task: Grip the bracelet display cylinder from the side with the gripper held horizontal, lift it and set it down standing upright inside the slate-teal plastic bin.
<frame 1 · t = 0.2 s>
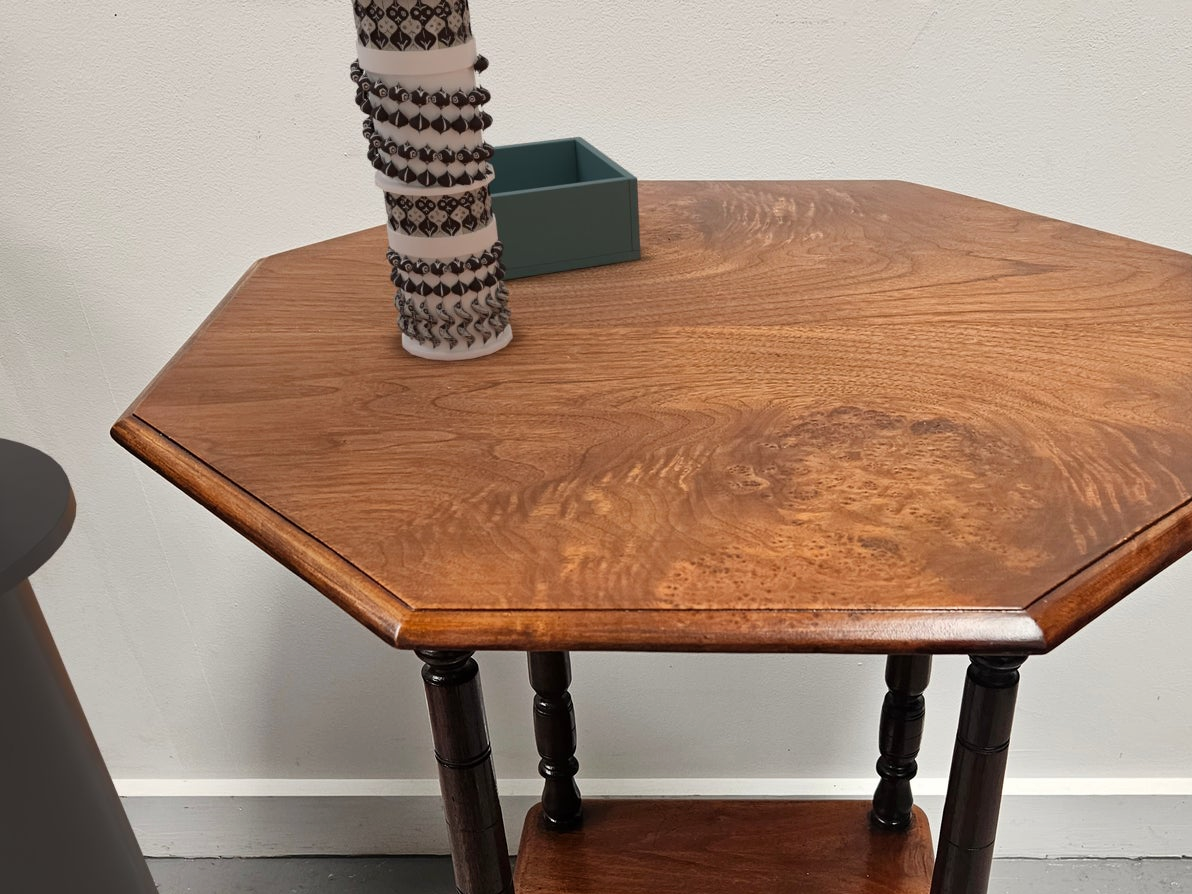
bracelet display cylinder: (457, 340, 96), on the table
bin: (536, 245, 112), on the table
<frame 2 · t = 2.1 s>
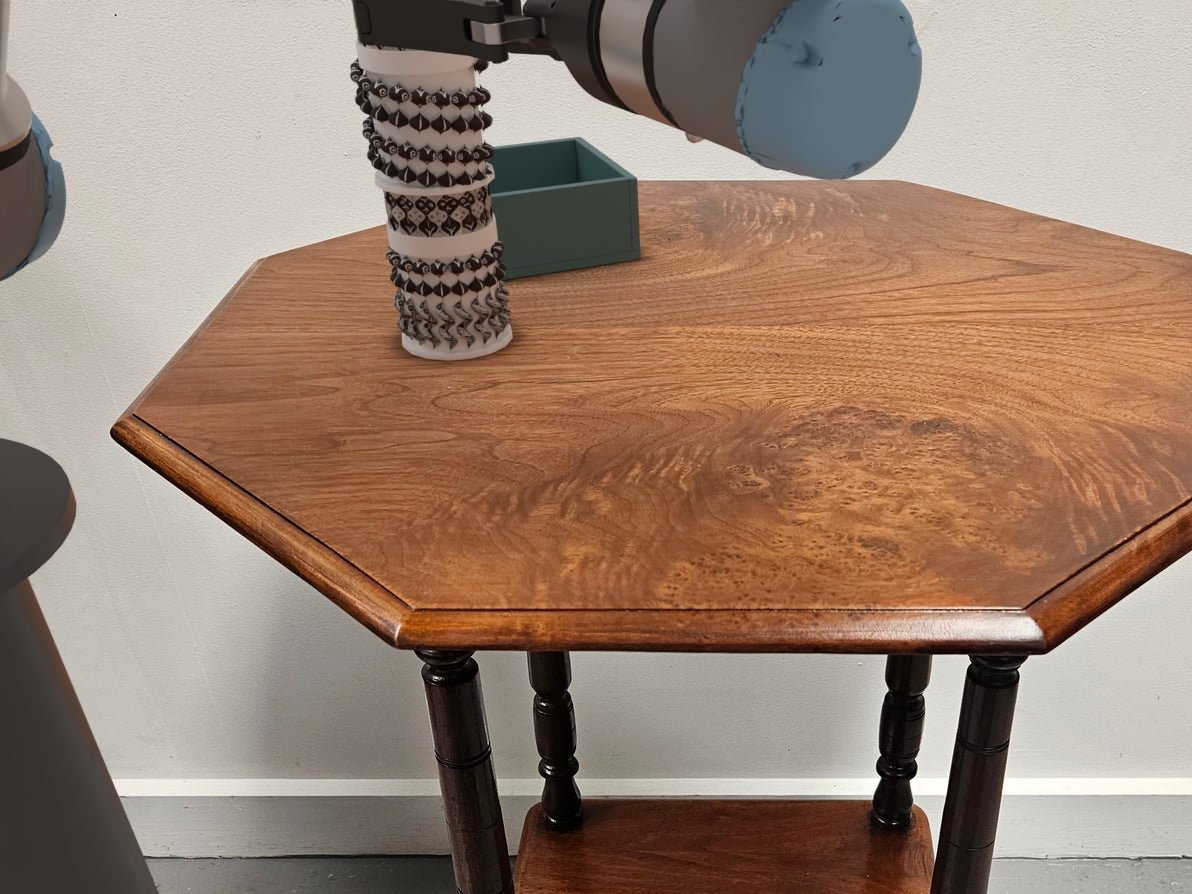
nothing on the table moved.
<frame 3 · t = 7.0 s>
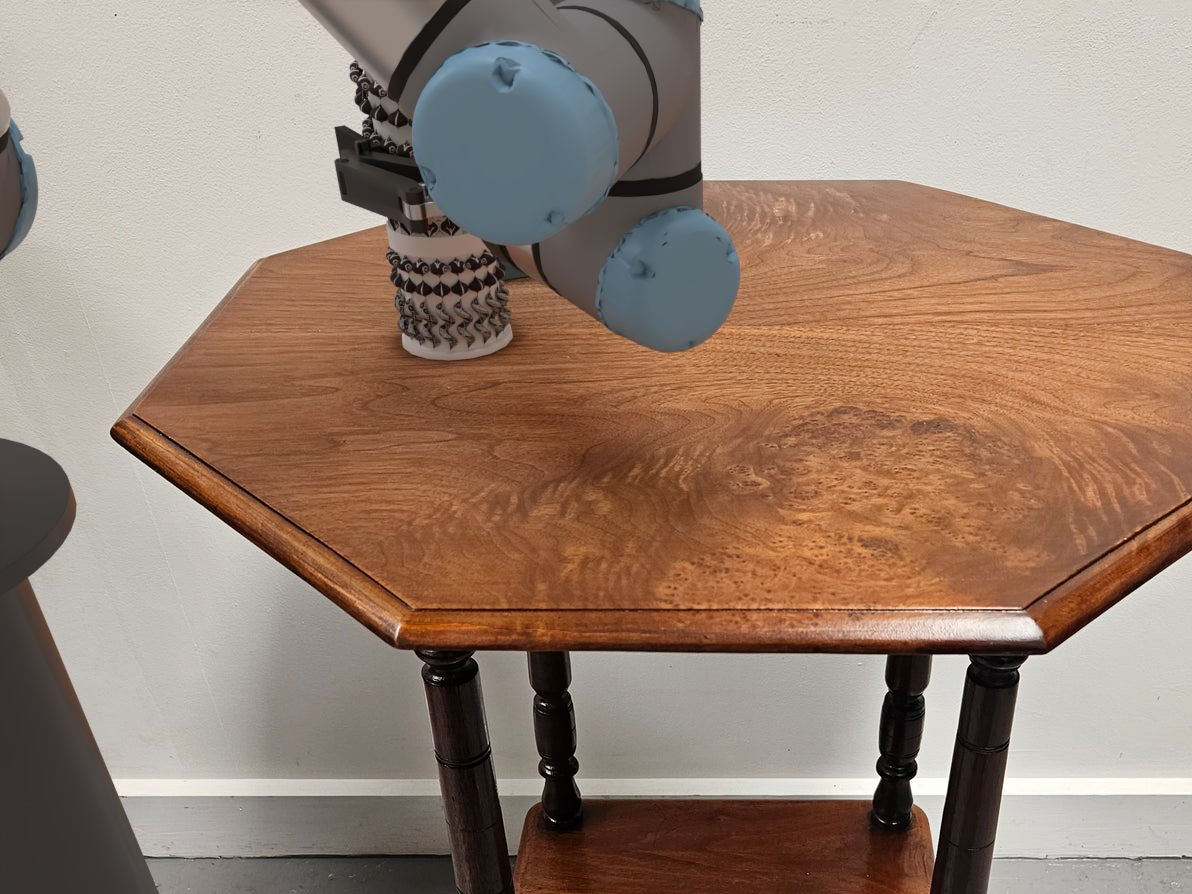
hand: (404, 136, 90), 13 cm above the table, tool horizontal, fingers closed on bracelet display cylinder, 9 cm apart
bracelet display cylinder: (457, 340, 96), on the table, touching gripper
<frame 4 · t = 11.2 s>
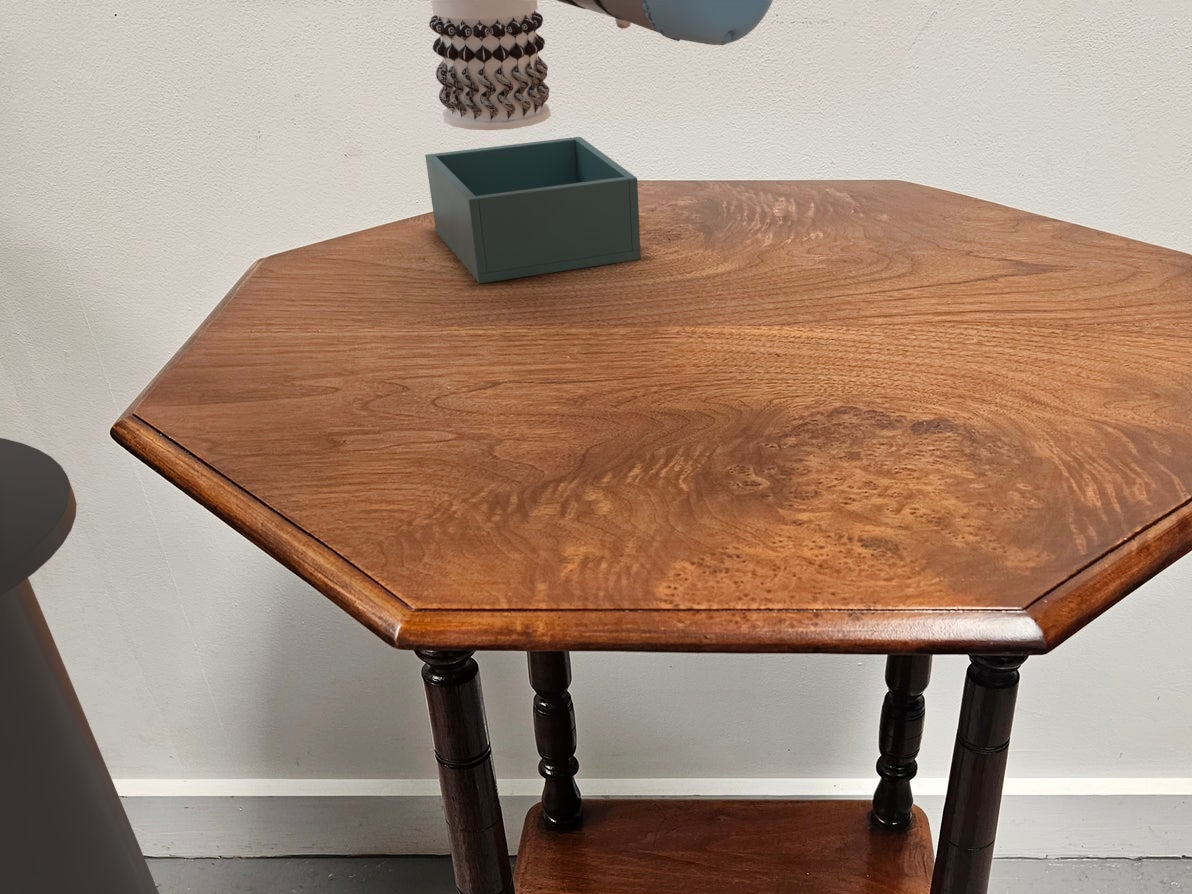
bracelet display cylinder: (497, 118, 99), point 12 cm above the table, touching gripper
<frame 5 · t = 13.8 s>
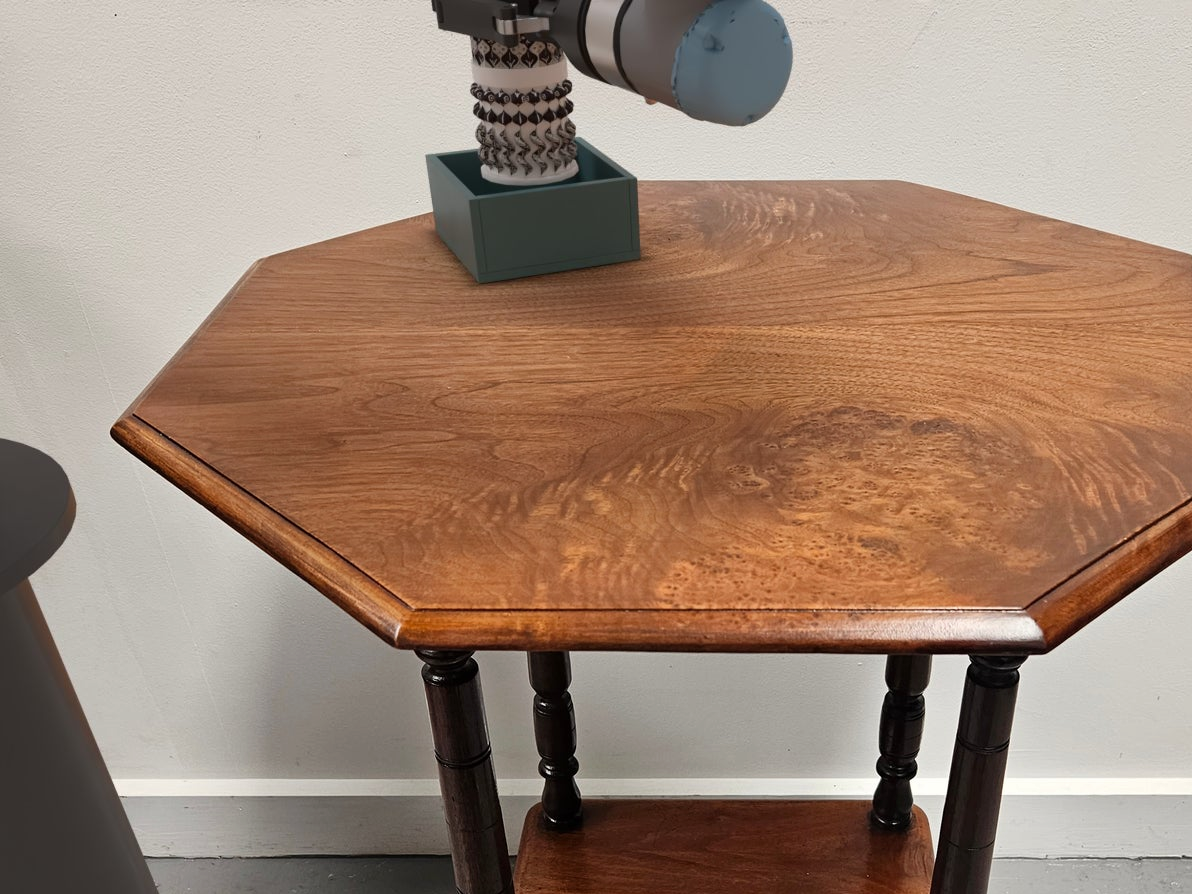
bracelet display cylinder: (529, 173, 109), point 6 cm above the table, touching gripper
when the fingers open (14 cm above the table, at t = 15.8 s): bracelet display cylinder stays where it is, resting on bin.
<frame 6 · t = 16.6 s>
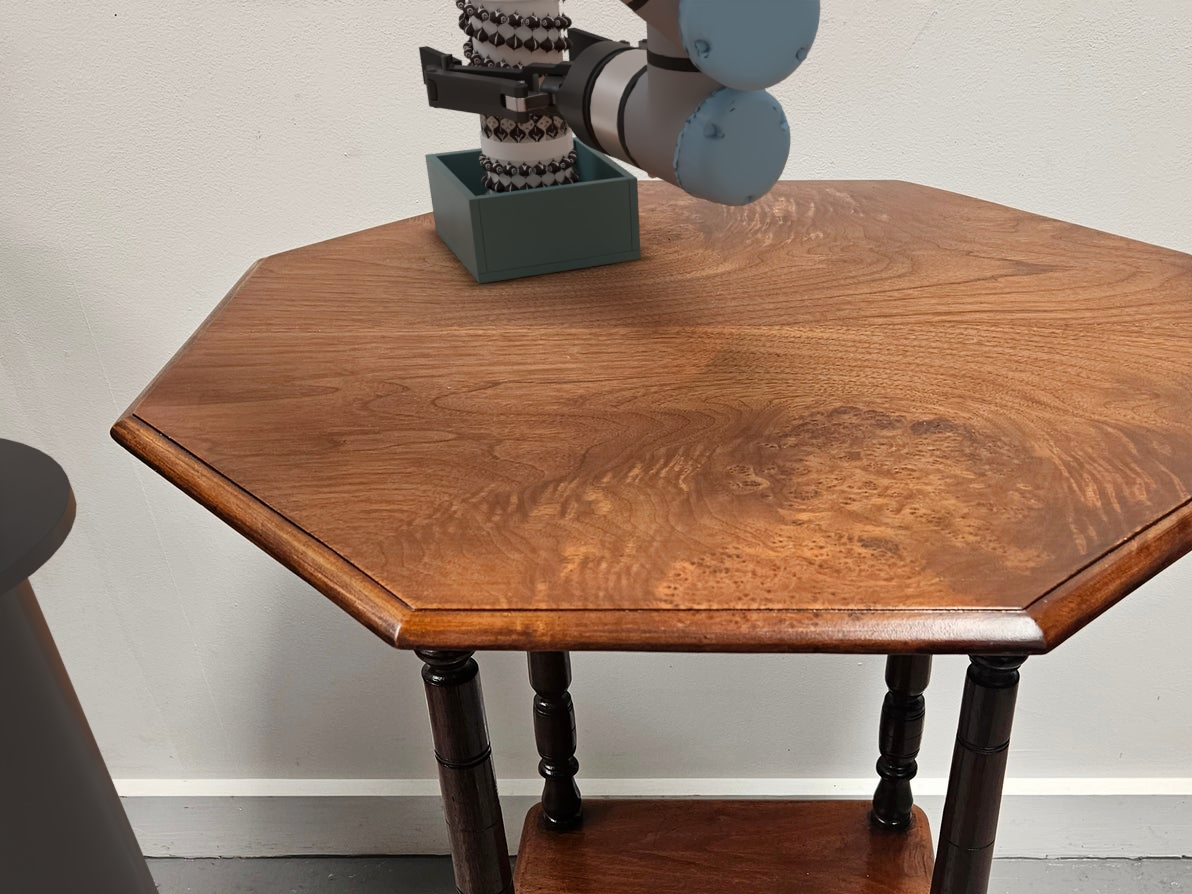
hand: (500, 54, 105), 15 cm above the table, tool horizontal, fingers open, 13 cm apart
bracelet display cylinder: (536, 238, 112), point 1 cm above the table, touching bin
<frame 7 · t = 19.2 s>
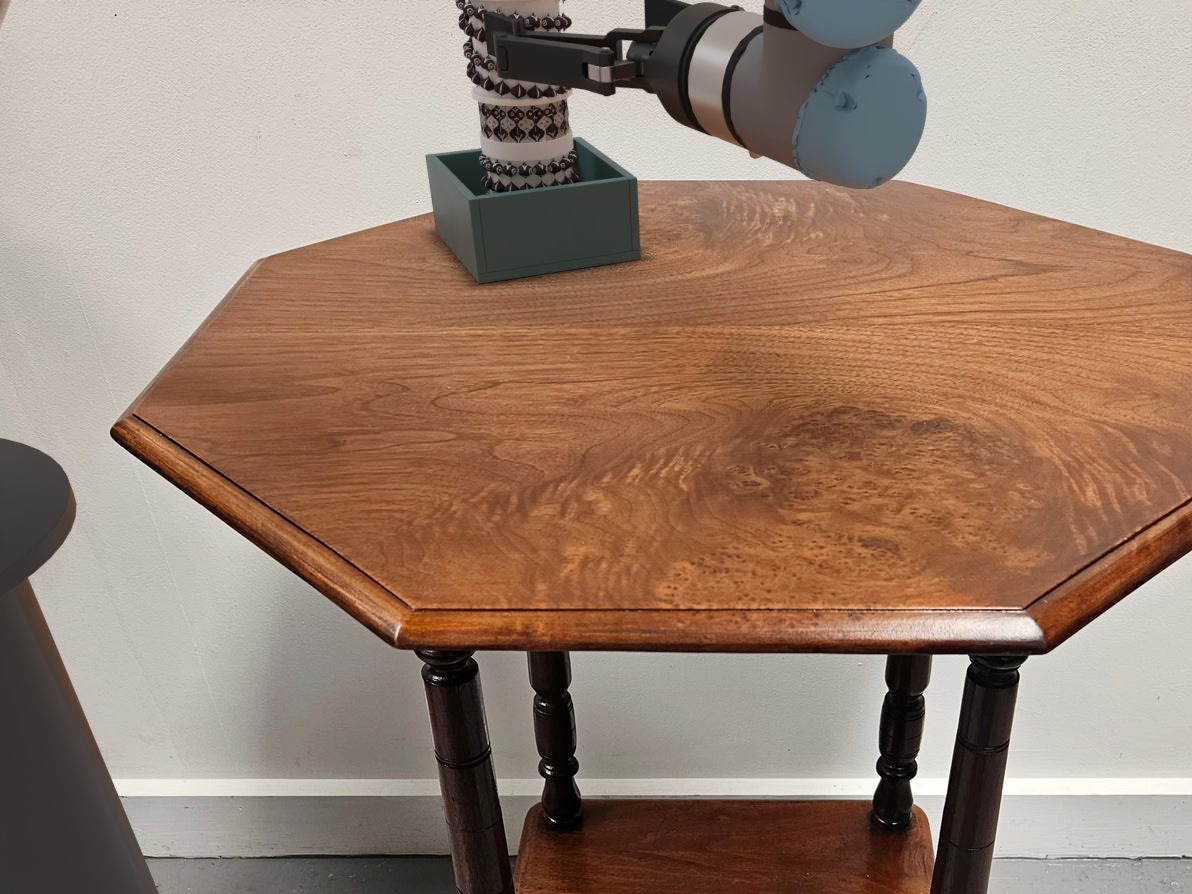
hand: (571, 22, 94), 19 cm above the table, tool horizontal, fingers open, 13 cm apart
nothing on the table moved.
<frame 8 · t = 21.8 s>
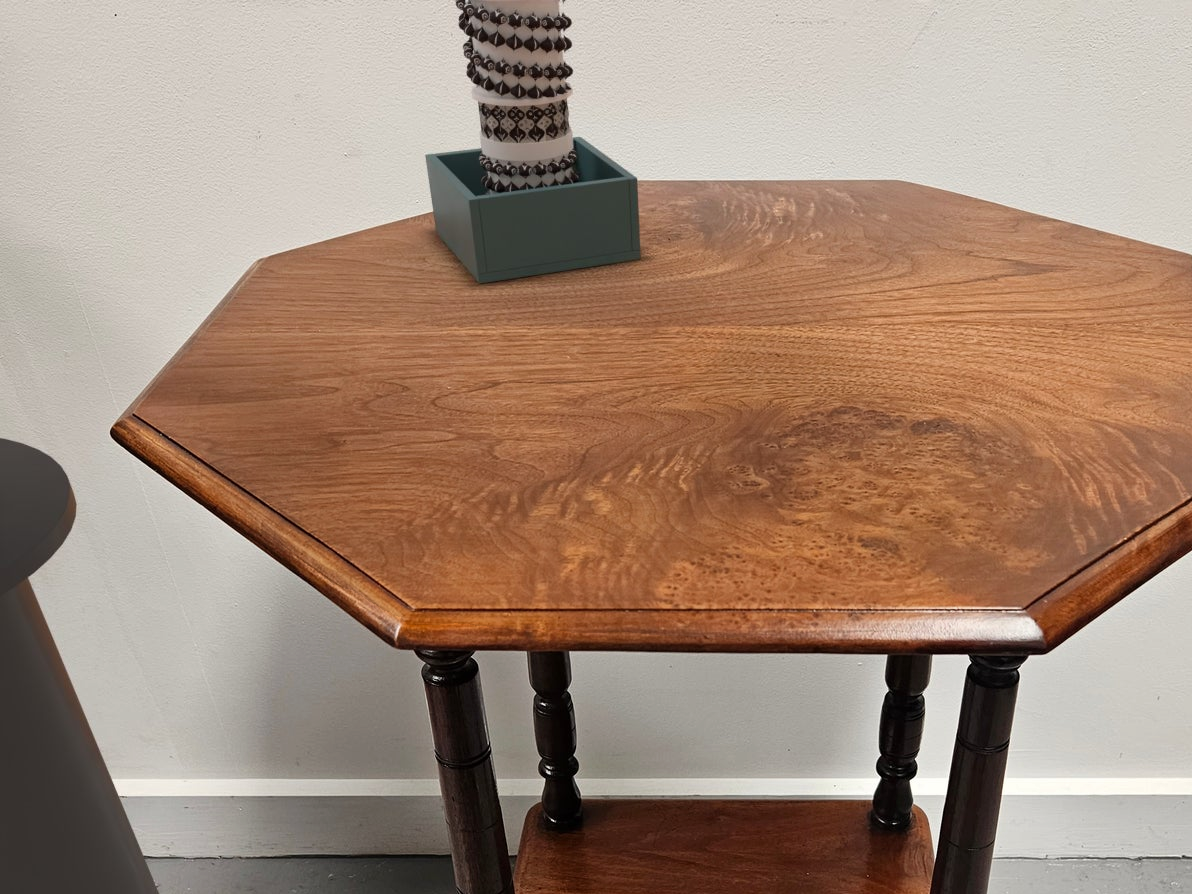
nothing on the table moved.
at the end: bracelet display cylinder inside the target area in the bin (0.1 cm from its centre), point 0.6 cm above the bin's base; bracelet display cylinder tilted 0°; the gripper is holding nothing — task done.
